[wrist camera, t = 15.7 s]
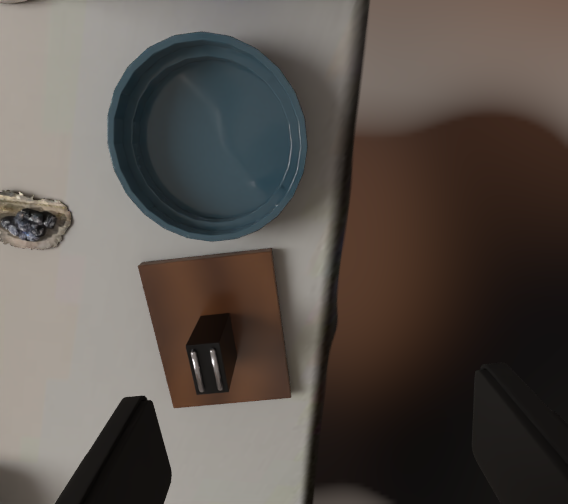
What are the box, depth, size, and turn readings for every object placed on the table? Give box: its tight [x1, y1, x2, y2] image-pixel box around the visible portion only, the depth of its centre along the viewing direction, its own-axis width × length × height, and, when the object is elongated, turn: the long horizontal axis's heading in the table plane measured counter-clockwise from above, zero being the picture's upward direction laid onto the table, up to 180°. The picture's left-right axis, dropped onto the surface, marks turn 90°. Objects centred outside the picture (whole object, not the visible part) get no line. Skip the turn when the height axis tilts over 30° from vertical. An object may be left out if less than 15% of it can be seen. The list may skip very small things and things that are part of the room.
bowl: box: [107, 32, 307, 241], centre depth 34 cm, size 17×17×4 cm
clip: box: [186, 313, 237, 395], centre depth 37 cm, size 3×6×6 cm, turn 7°
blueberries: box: [0, 190, 72, 250], centre depth 37 cm, size 7×8×2 cm
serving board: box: [138, 248, 291, 408], centre depth 41 cm, size 14×18×1 cm
